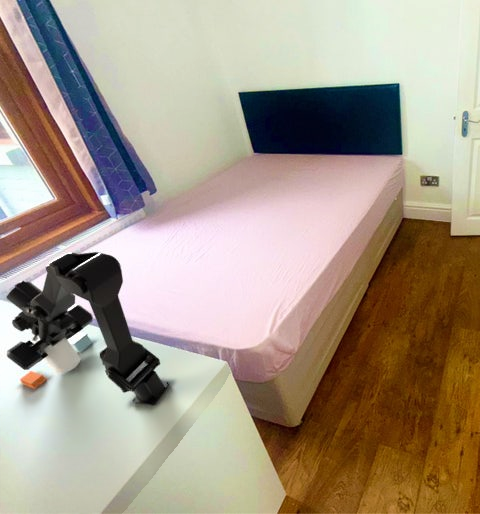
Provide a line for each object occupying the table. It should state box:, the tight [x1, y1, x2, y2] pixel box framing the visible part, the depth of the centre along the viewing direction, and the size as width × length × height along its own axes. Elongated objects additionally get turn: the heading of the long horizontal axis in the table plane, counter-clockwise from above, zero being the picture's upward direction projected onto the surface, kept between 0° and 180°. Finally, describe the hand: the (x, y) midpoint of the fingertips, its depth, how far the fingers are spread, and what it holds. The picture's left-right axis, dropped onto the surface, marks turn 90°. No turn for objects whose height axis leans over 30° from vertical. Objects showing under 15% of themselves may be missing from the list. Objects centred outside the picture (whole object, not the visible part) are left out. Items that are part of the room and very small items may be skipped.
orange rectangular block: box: [19, 370, 48, 390], centre depth 98 cm, size 6×3×2 cm, turn 67°
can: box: [31, 335, 82, 375], centre depth 98 cm, size 6×6×12 cm
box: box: [68, 331, 93, 354], centre depth 108 cm, size 6×4×4 cm
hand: (53, 347), depth 98 cm, fingers closed on can, 6 cm apart
